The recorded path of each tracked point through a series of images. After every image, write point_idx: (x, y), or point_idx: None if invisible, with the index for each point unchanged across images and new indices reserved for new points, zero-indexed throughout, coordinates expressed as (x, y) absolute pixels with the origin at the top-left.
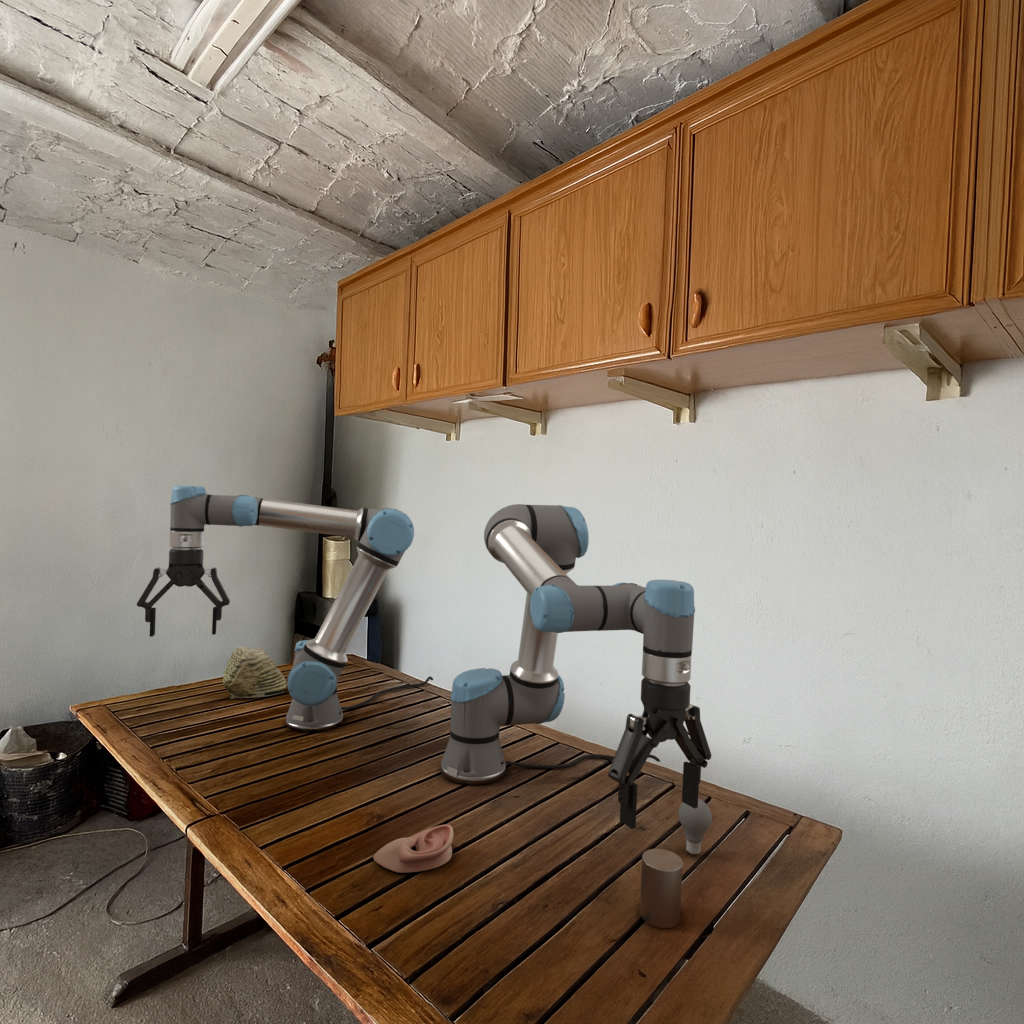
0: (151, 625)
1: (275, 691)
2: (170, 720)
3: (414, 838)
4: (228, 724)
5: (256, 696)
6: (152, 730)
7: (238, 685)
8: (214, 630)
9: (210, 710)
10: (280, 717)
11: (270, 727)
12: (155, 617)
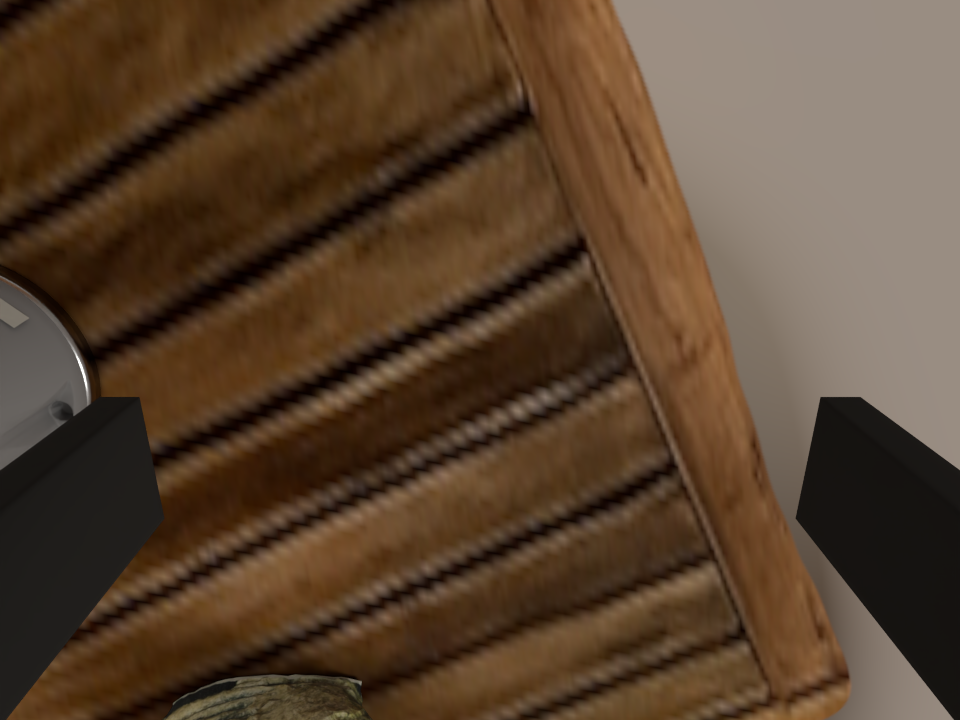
0: (936, 471)
1: (195, 699)
2: (545, 513)
3: None
4: (328, 427)
5: (265, 676)
6: (597, 427)
7: (316, 708)
8: (78, 418)
9: (416, 583)
10: None
11: (157, 358)
12: (927, 683)
